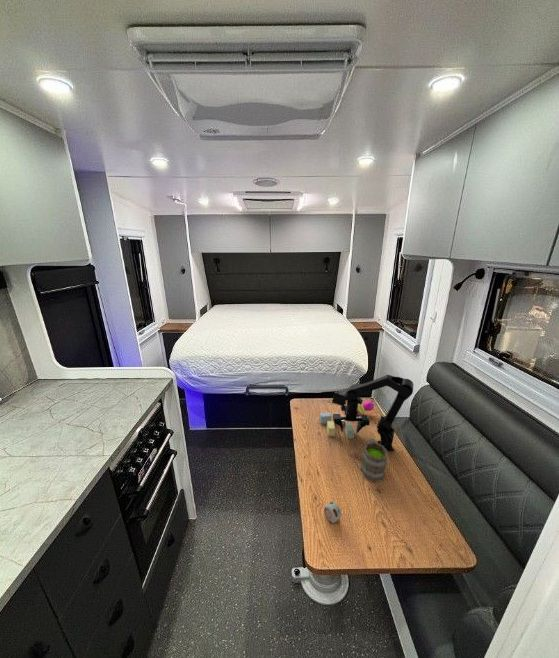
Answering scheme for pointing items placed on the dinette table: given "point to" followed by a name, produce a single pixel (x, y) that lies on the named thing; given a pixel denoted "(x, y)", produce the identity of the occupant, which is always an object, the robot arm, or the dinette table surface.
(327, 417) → the slate brick
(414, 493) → the dinette table surface
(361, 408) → the toy
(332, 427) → the mustard brick
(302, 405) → the dinette table surface
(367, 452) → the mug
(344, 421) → the terracotta brick
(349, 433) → the green brick
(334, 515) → the roller toy
